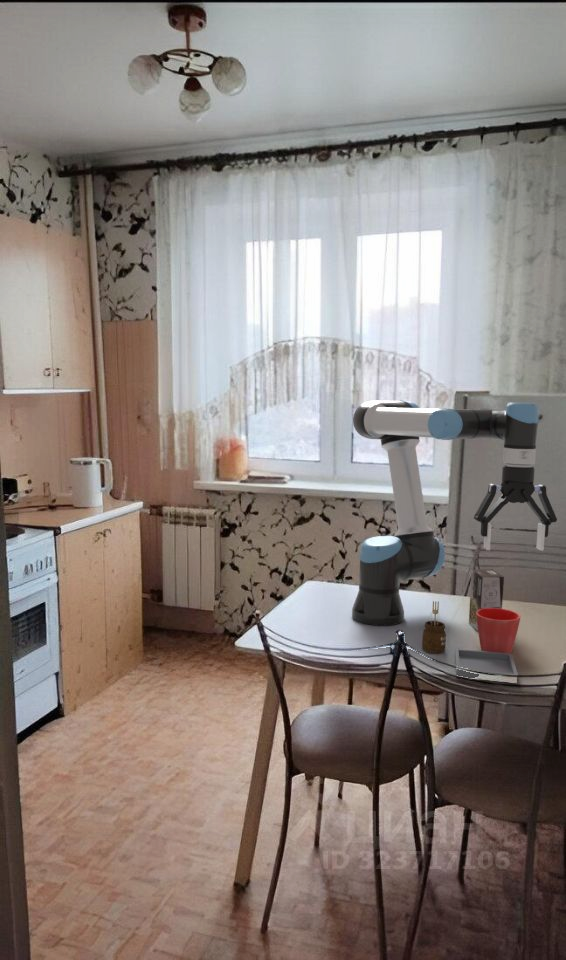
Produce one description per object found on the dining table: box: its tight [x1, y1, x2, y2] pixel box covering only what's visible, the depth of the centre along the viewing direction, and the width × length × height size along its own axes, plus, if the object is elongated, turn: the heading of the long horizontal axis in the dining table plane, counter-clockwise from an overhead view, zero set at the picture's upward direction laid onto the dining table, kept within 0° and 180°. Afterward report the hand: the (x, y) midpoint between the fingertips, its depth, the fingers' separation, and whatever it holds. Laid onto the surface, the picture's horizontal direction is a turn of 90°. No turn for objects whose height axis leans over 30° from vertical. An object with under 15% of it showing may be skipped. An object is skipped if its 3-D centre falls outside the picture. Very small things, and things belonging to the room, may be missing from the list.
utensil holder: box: [421, 600, 447, 655], centre depth 178 cm, size 6×6×12 cm
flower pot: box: [476, 608, 521, 654], centre depth 179 cm, size 11×11×10 cm
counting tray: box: [454, 647, 519, 678], centre depth 167 cm, size 14×14×2 cm
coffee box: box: [468, 568, 505, 632], centre depth 195 cm, size 9×6×16 cm
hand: (513, 549), depth 175 cm, fingers open, 13 cm apart
